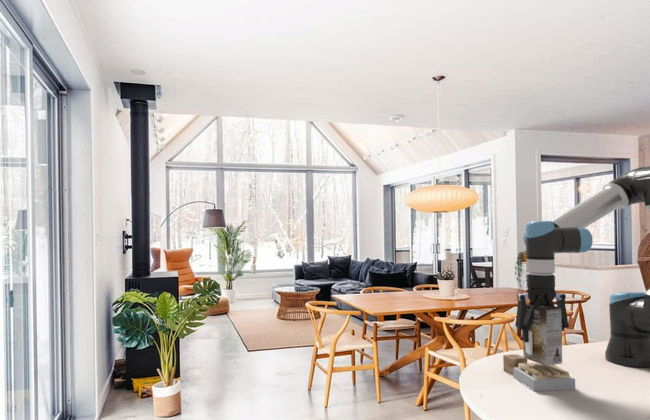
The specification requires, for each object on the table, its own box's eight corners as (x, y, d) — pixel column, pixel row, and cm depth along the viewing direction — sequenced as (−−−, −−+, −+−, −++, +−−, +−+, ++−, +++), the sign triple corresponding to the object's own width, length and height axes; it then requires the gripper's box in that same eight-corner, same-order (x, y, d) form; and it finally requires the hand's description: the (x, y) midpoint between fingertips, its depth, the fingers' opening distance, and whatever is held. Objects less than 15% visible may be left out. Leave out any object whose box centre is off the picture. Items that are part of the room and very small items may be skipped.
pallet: (550, 367, 145) (550, 362, 145) (569, 377, 135) (569, 372, 135) (518, 368, 144) (518, 363, 144) (535, 378, 134) (534, 373, 134)
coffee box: (522, 358, 143) (520, 303, 144) (538, 355, 145) (537, 302, 146) (546, 366, 134) (545, 308, 135) (564, 363, 137) (562, 306, 137)
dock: (551, 376, 146) (551, 366, 146) (575, 389, 134) (575, 378, 134) (513, 377, 145) (513, 367, 145) (533, 391, 133) (533, 380, 133)
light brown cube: (517, 369, 153) (517, 354, 153) (527, 374, 148) (527, 358, 149) (503, 371, 152) (503, 355, 152) (513, 375, 147) (513, 359, 147)
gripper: (566, 272, 145) (568, 348, 144) (501, 273, 144) (502, 350, 143) (581, 274, 138) (584, 355, 137) (512, 275, 136) (514, 357, 135)
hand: (542, 352), depth 140 cm, fingers closed on coffee box, 7 cm apart
